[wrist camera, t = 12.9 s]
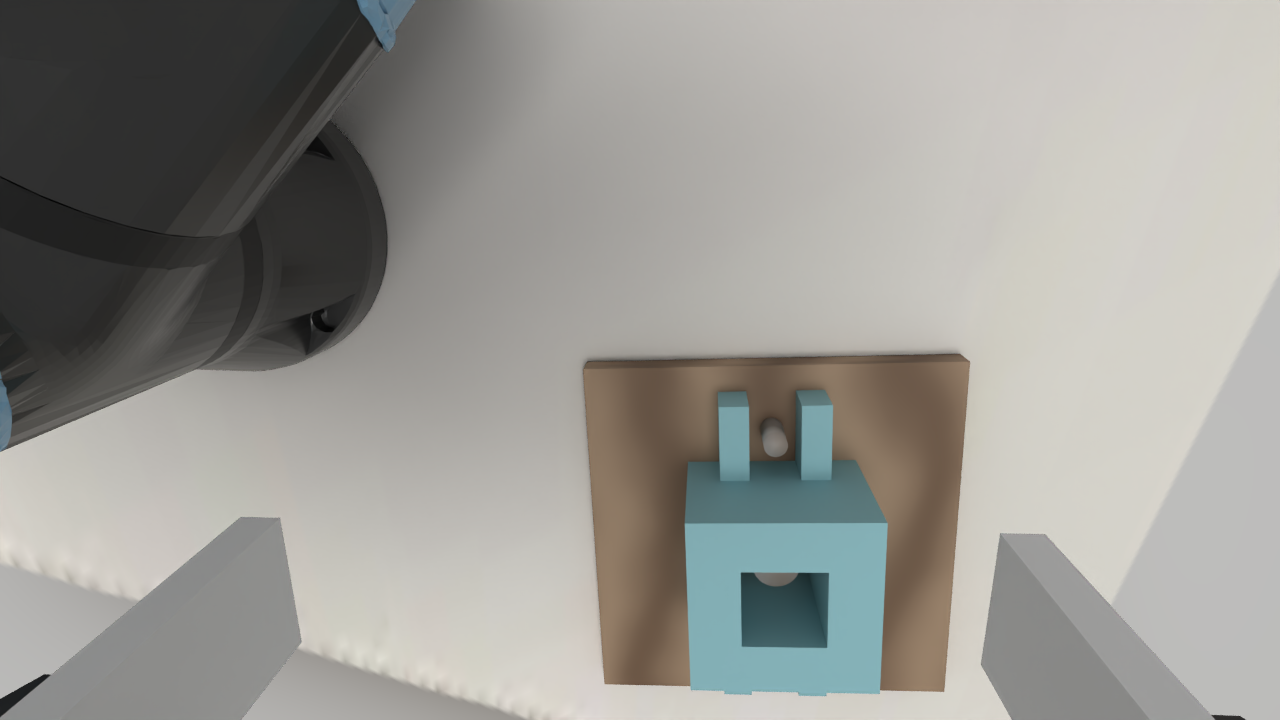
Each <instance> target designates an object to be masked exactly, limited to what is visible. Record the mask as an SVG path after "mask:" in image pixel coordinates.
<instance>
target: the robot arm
mask: <svg viewBox="0 0 1280 720" xmlns="http://www.w3.org/2000/svg"><path fill="white" fill-rule="evenodd" d="M415 1H416V0H0V452H1V451H3V450H6V449H8V448H11V447H13V446H15V445H18V444H20V443H22V442H25V441H27V440H29V439H32V438H34V437H37V436H39V435H41V434H44V433H46V432H48V431H51V430H53V429H56V428H58V427H60V426H63V425H65V424H67V423H70V422H72V421H74V420H77V419H79V418H82V417H84V416H86V415H89V414H91V413H93V412H96V411H98V410H101V409H103V408H105V407H108V406H110V405H112V404H115V403H117V402H119V401H122V400H124V399H127V398H129V397H131V396H134V395H136V394H138V393H141V392H143V391H146V390H148V389H150V388H153V387H155V386H157V385H160V384H162V383H164V382H167V381H169V380H172V379H174V378H176V377H179V376H181V375H183V374H186V373H188V372H190V371H193V370H195V369H201V370H230V371H265V370H272V369H277V368H282V367H287V366H290V365H293V364H297V363H299V362H302V361H304V360H306V359H308V358H310V357H312V356H314V355H316V354H318V353H320V352H322V351H324V350H326V349H328V348H330V347H332V346H334V345H335V344H337V343H338V342H340V341H341V340H342V339H344V338H345V337H346V336H347V335H348V334H350V333H351V332H352V331H353V330H354V329H355V328H356V327H357V326H358V324H359V323H360V322H361V321H362V319H363V318H364V317H365V315H366V314H367V312H368V311H369V309H370V307H371V306H372V304H373V302H374V300H375V298H376V295H377V293H378V290H379V288H380V285H381V282H382V278H383V274H384V269H385V263H386V254H387V233H386V224H385V218H384V212H383V208H382V204H381V201H380V197H379V194H378V191H377V189H376V186H375V184H374V181H373V179H372V177H371V175H370V173H369V171H368V169H367V167H366V165H365V164H364V162H363V160H362V159H361V157H360V155H359V154H358V152H357V151H356V150H355V148H354V147H353V146H352V144H351V143H350V142H349V141H348V139H347V138H346V137H345V136H344V135H343V134H342V132H341V131H340V130H339V129H338V128H337V127H336V126H335V125H334V124H332V123H331V122H330V121H329V119H330V118H331V117H332V115H333V114H334V113H335V111H336V110H337V109H338V108H339V106H340V105H341V104H342V102H343V101H344V100H345V99H346V97H347V96H348V95H349V93H350V92H351V91H352V90H353V88H354V87H355V86H356V84H357V83H358V82H359V81H360V79H361V78H362V77H363V75H364V74H365V73H366V72H367V70H368V69H369V68H370V66H371V65H372V64H373V62H374V61H375V60H376V59H377V57H378V56H379V55H380V53H381V52H382V51H383V50H385V51H386V52H389V51H390V50H391V49H392V47H393V46H394V45H395V41H396V34H395V31H396V29H397V28H398V26H399V25H400V23H401V22H402V20H403V19H404V18H405V16H406V15H407V13H408V12H409V10H410V9H411V7H412V6H413V4H414V3H415ZM301 642H302V641H301V636H300V630H299V624H298V618H297V613H296V607H295V601H294V595H293V590H292V584H291V578H290V572H289V567H288V561H287V555H286V549H285V544H284V538H283V532H282V527H281V521H280V518H258V517H240V518H239V519H238V520H237V521H236V522H234V523H233V524H232V525H231V526H230V527H228V528H227V529H226V530H225V531H224V532H222V533H221V534H220V535H219V536H218V537H216V538H215V539H214V540H213V541H212V542H210V543H209V544H208V545H207V546H205V547H204V548H203V549H202V550H201V551H199V552H198V553H197V554H196V555H195V556H193V557H192V558H191V559H190V560H189V561H187V562H186V563H185V564H184V565H183V566H181V567H180V568H179V569H178V570H177V571H175V572H174V573H173V574H172V575H171V576H169V577H168V578H167V579H166V580H165V581H163V582H162V583H161V584H160V585H159V586H157V587H156V588H155V589H154V590H153V591H151V592H150V593H149V594H148V595H147V596H145V597H144V598H143V599H142V600H141V601H139V602H138V603H137V604H136V605H135V606H133V607H132V608H131V609H130V610H129V611H127V612H126V613H125V614H124V615H123V616H121V617H120V618H119V619H118V620H117V621H115V622H114V623H113V624H112V625H111V626H109V627H108V628H107V629H106V630H105V631H103V632H102V633H101V634H100V635H99V636H97V637H96V638H95V639H94V640H93V641H92V642H90V643H89V644H88V645H87V646H85V647H84V648H83V649H82V650H81V651H79V652H78V653H77V654H76V655H75V656H73V657H72V658H71V659H70V660H69V661H67V662H66V663H65V664H64V665H62V666H61V667H60V668H59V669H58V670H56V671H55V672H54V673H53V674H52V675H46V674H45V675H42V676H41V677H39V678H37V679H35V680H33V681H32V682H30V683H28V684H26V685H24V686H23V687H21V688H19V689H17V690H16V691H14V692H12V693H10V694H8V695H7V696H5V697H3V698H1V699H0V720H241V719H242V718H243V717H244V716H245V714H246V713H247V712H248V710H249V709H250V708H251V707H252V705H253V704H254V703H255V702H256V700H257V699H258V698H259V696H260V695H261V694H262V692H263V691H264V690H265V689H266V687H267V686H268V685H269V683H270V682H271V681H272V680H273V678H274V677H275V676H276V674H277V673H278V672H279V671H280V669H281V668H282V667H283V665H284V664H285V663H286V662H287V660H288V659H289V658H290V656H291V655H292V654H293V653H294V651H295V650H296V649H297V647H298V646H299V645H300V644H301ZM981 666H982V667H983V669H984V671H985V673H986V674H987V676H988V678H989V680H990V682H991V683H992V685H993V687H994V689H995V690H996V692H997V694H998V696H999V698H1000V699H1001V701H1002V703H1003V705H1004V706H1005V708H1006V710H1007V712H1008V713H1009V715H1010V717H1011V719H1012V720H1245V719H1244V718H1242V717H1241V716H1223V715H1210V714H1209V713H1208V711H1207V710H1206V709H1205V708H1204V707H1203V706H1202V705H1201V704H1200V703H1199V701H1198V700H1197V699H1196V698H1195V697H1194V696H1193V695H1192V694H1191V693H1190V692H1189V691H1188V689H1187V688H1186V687H1185V686H1184V685H1183V684H1182V683H1181V682H1180V681H1179V680H1178V679H1177V678H1176V676H1175V675H1174V674H1173V673H1172V672H1171V671H1170V670H1169V669H1168V668H1167V667H1166V665H1164V663H1163V662H1162V661H1161V660H1160V659H1159V658H1158V657H1157V656H1156V655H1155V653H1154V652H1153V651H1152V650H1151V649H1150V648H1149V647H1148V646H1147V645H1146V644H1145V643H1144V641H1142V639H1141V638H1140V637H1139V636H1138V635H1137V634H1136V633H1135V632H1134V631H1133V630H1132V628H1131V627H1130V626H1129V625H1128V624H1127V623H1126V622H1125V621H1124V620H1123V619H1122V618H1121V616H1119V614H1118V613H1117V612H1116V611H1115V610H1114V609H1113V608H1112V607H1111V605H1110V604H1109V603H1108V602H1107V601H1106V600H1105V599H1104V598H1103V597H1102V596H1101V595H1100V593H1099V592H1098V591H1097V590H1096V589H1095V588H1094V587H1093V586H1092V585H1091V584H1090V583H1089V581H1088V580H1087V579H1086V578H1085V577H1084V576H1083V575H1082V574H1081V573H1080V572H1079V571H1078V569H1077V568H1076V567H1075V566H1074V565H1073V564H1072V563H1071V562H1070V561H1069V560H1068V559H1067V557H1066V556H1065V555H1064V554H1063V553H1062V552H1061V551H1060V550H1059V549H1058V548H1057V547H1056V545H1055V544H1054V543H1053V542H1052V541H1051V540H1050V539H1049V538H1048V537H1047V536H1046V535H1045V534H1004V533H1000V539H999V545H998V552H997V559H996V566H995V573H994V579H993V586H992V593H991V600H990V607H989V613H988V620H987V627H986V634H985V640H984V647H983V654H982V661H981Z"/></svg>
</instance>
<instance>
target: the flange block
mask: <svg viewBox="0 0 1280 720" xmlns="http://www.w3.org/2000/svg"><path fill="white" fill-rule="evenodd" d="M718 430H719V462H688V472H687V491H686V509H685V545H686V573H687V601H688V629H689V657H690V685H691V690H713V691H725V694H747V695H752V691H763V692H798V693H799V696H826V693H864V694H880V679H881V658H882V636H883V615H884V593H885V571H886V550H887V528H888V523H887V521H886V519H885V517H884V515H883V513H882V511H881V509H880V507H879V505H878V503H877V501H876V499H875V497H874V495H873V493H872V491H871V489H870V487H869V485H868V483H867V481H866V479H865V477H864V475H863V473H862V471H861V469H860V467H859V465H858V463H857V461H856V460H832V433H833V404H832V402H831V400H830V398H829V397H828V395H827V393H826V391H825V390H796V437H795V461H749V404H748V399H747V393H746V391H738V392H718ZM754 572H762V573H798V575H797V576H796V578H795V579H794V580H793V581H792V582H790V583H789V584H786V585H784V586H777V587H776V586H769V585H766V584H764V583H762V582H761V581H760V580H759V579H758V578H757V577H756V575H755V573H754Z"/></svg>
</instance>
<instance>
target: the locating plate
mask: <svg viewBox="0 0 1280 720" xmlns="http://www.w3.org/2000/svg"><path fill="white" fill-rule="evenodd" d="M969 368H970V361H969V360H967V359H966V358H965V357H963V356H962V355H961V354H937V355H889V356H841V357H793V358H745V359H697V360H649V361H601V362H587V363H586V365H585V367H584V368H583V377H584V391H585V406H586V420H587V435H588V449H589V464H590V478H591V493H592V507H593V522H594V536H595V551H596V566H597V580H598V595H599V609H600V624H601V638H602V653H603V667H604V682H605V684H620V685H665V686H691V685H690V657H689V629H688V601H687V573H686V545H685V509H686V491H687V472H688V462H719V430H718V392H738V391H746V393H747V399H748V404H749V461H795V437H796V390H825V391H826V393H827V395H828V397H829V398H830V400H831V402H832V404H833V433H832V460H856V461H857V463H858V465H859V467H860V469H861V471H862V473H863V475H864V477H865V479H866V481H867V483H868V485H869V487H870V489H871V491H872V493H873V495H874V497H875V499H876V501H877V503H878V505H879V507H880V509H881V511H882V513H883V515H884V517H885V519H886V521H887V523H888V528H887V550H886V571H885V593H884V615H883V636H882V658H881V679H880V690H891V691H936V692H944V687H945V674H946V661H947V649H948V636H949V623H950V610H951V598H952V585H953V572H954V559H955V547H956V534H957V521H958V508H959V496H960V483H961V470H962V457H963V445H964V432H965V419H966V407H967V394H968V381H969ZM754 573H755V575H756V577H757V578H758V579H759V580H760V581H761V582H762V583H764V584H766V585H769V586H776V587H777V586H784V585H786V584H789V583H790V582H792V581H793V580H794V579H795V578H796V576H797V575H798V573H762V572H754Z"/></svg>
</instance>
